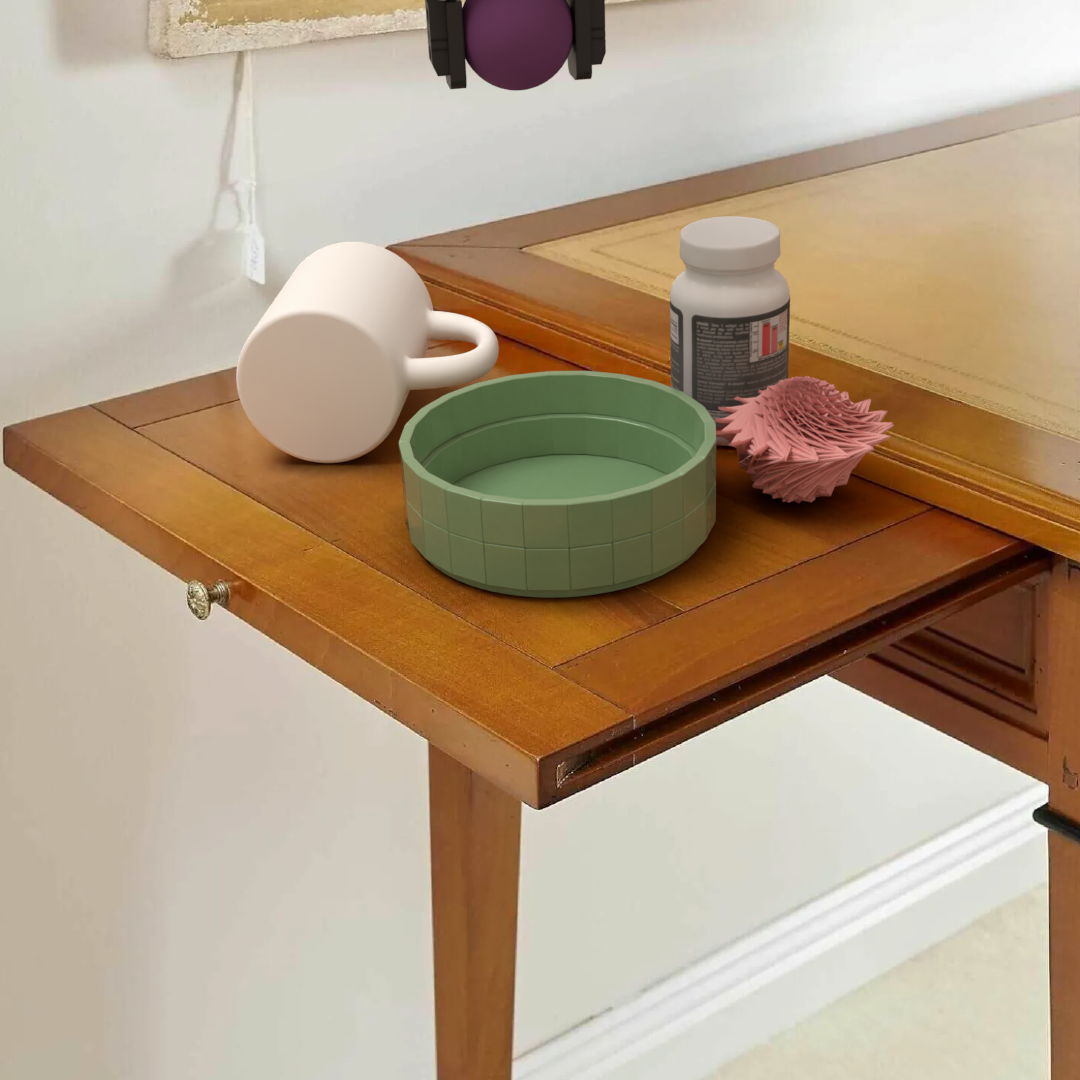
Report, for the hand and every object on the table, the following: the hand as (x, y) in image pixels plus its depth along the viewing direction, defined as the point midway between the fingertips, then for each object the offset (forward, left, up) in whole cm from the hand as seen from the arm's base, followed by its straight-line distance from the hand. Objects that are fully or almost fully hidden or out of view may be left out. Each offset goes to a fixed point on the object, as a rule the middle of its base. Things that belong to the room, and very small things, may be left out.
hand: (518, 78), depth 71 cm
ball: (0, 0, 0) cm, 0 cm away
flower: (-11, +8, -18) cm, 22 cm away
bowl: (0, +8, -18) cm, 20 cm away
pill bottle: (-10, 0, -18) cm, 20 cm away
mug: (+7, -5, -18) cm, 20 cm away
